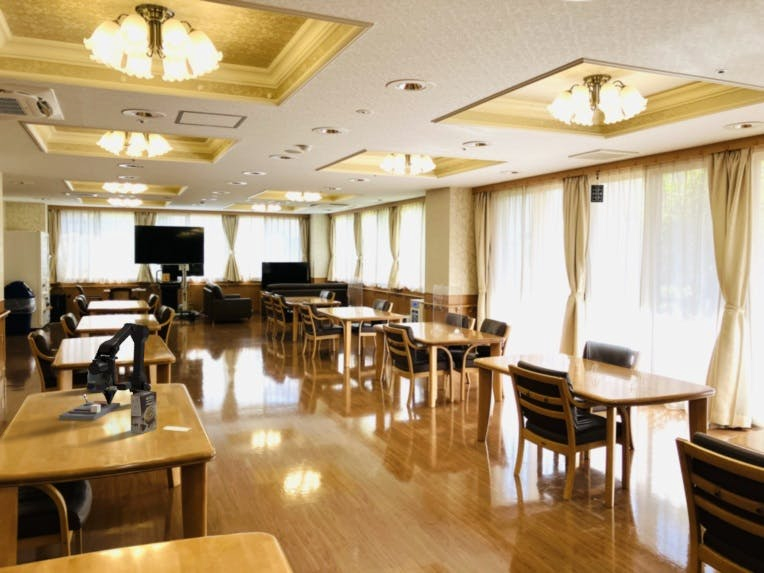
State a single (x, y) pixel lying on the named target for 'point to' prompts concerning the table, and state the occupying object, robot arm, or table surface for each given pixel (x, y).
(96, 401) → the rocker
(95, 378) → the canister
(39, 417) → the table surface
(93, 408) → the slider
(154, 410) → the coffee box
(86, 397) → the toggle
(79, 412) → the switch panel
